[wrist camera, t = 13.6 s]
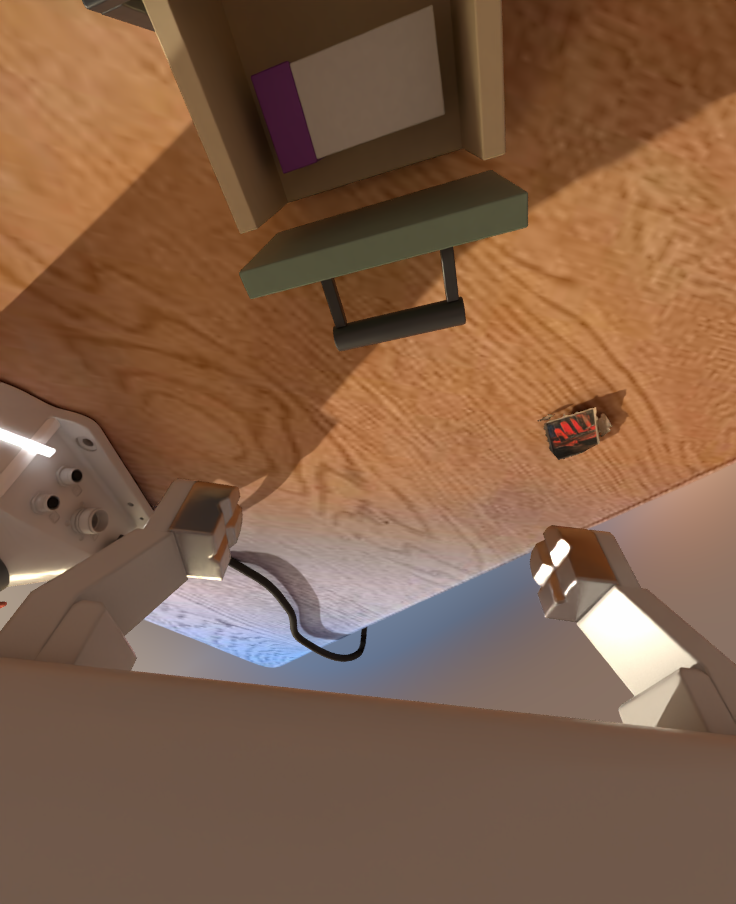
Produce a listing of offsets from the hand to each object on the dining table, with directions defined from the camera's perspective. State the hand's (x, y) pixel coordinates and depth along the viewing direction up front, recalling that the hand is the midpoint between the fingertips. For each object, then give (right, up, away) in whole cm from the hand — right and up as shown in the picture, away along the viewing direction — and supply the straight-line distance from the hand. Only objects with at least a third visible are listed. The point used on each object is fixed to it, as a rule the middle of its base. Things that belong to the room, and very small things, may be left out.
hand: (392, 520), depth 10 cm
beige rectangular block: (-1, +18, +7) cm, 19 cm away
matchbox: (+16, +4, +21) cm, 26 cm away
